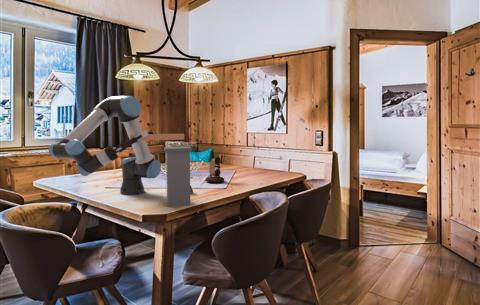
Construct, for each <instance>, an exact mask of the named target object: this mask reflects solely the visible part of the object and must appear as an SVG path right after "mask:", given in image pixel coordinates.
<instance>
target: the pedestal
mask: <svg viewBox="0 0 480 305" xmlns="http://www.w3.org/2000/svg"><path fill="white" fill-rule="evenodd" d="M163 151H164V152H165V154H166V156H165V158H166V160H165V161H166V163H165V164H166V165H165V167H166V204H167V208H176V206H177V207H187V206H189V207H190V206H191V193H190V186H191V153H193V148H192V147H190V146H164V147H163Z"/></svg>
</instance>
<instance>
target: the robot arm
mask: <svg viewBox="0 0 480 305" xmlns="http://www.w3.org/2000/svg"><path fill="white" fill-rule="evenodd" d="M141 109H142V107H141V103H140V101H139V99H137V98H136V97H134V96H133V95H118V96H117V95H115V96H110V97H107V98H105V99H103V100H102V101H101V102H100V103H98V104H97V105H96V106H94V108H93V109H92V112H91V113H90V114H89V115H87V116H86V117H85V118H84V119H83V120H82V121H81V122H80V123H79V124H78V125H76V126H75V128H73V129H72V130H71V131H70V132H69V133H68V134H67V135H66V136H64V137H63V138H62V139H61V140H60V141H59V142H55V143H51V144H50V145H49V147H48V154H49V155H50V156H51V157H52V158H56V159H68V160H74V161H75V162H76V166H75V168H76V170H77V171H78V173H79V174H80V175H81V176H82V177H88V176H89V175H91V174H93V173H95V172H96V171H99V169H101V168H103V167H105V166H108V165H109V164H110V163H111V162H113V161H115V160H118V158H119V156H118V153H119V154H120V153H122V152H123V151H125V150H126V149H127V148H129V147H130V146H131V147H132V150H133V152H134V155H135V156H133V157H126V158H123V159H121V160H122V162H121V168H122V170H121V171H122V183H121V185H120V189H119V193H120V195H121V194H122V195H138V194H143V193H145V186H144V184H143V181H142V178H145V179H149V180H150V179H156V178H157V177H159V175H160V173H161V170H162V164H161V162H160V160H158V159H155V156H154V154H152V153H151V152H150V149H149V146H148V143H147V140H141V139H142V138H144V137H146V136H147V135H149V134H150V133H149V132H148V131H147V129H145V130H142V126H141V124H140V121H139V118H140V114H141V111H142V110H141ZM113 117H116V118H117V117H118V120H119V122H120V123H121V124H123V127H124V129H125V131H126V133H127V137H128V140H126V141H125V142H121V143H120V144H117V145H115V148H113V146H112V145H108V146H106V147H105V148H104V149H101V150H100V151H98V152H96V153H94V154H91V152H90V151H89V150H88V149H87V148H86V146H85V145H84V144H83V141H85V140H86V139H87V138H88V136H89V135H91V134H92V133H93V132H94V131H95V130H96V129H97V128H98V127H99V126H100V125H101V124H102V123H104V122H107V121H108V120H109V119H112V118H113ZM130 135H137V136H135V137H136V138H135V137H134V138H132V139H131V140H130ZM137 140H138V141H137ZM139 140H141V141H139Z"/></svg>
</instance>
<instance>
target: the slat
mask: <svg viewBox="0 0 480 305" xmlns="http://www.w3.org/2000/svg"><path fill="white" fill-rule="evenodd" d="M148 134H149V135H147V136H146V137H144V138H142V139H141V140H146V141H174V140H175V141H176V140H178V141H179V140H185V134H184V133H157V134H156V133H155V134H154V133H152V134H151V133H148ZM135 136H137V135H130V139H129V140H131V139H132V138H134V137H135ZM135 138H136V137H135ZM141 140H139V141H141ZM137 141H138V140H137Z"/></svg>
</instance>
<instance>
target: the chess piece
mask: <svg viewBox="0 0 480 305" xmlns="http://www.w3.org/2000/svg"><path fill="white" fill-rule="evenodd" d="M208 161H209V169H208V170H209V171H208V172H209V176H208V177H206V178H205V183H207V182H210V183H213V184H216V183H221V182H222V183H225V178H224V177H222V176H221V164H220V163H221V157H219V156H216V157H215V156H213V155H211V156H210V157H209V158H208Z"/></svg>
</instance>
